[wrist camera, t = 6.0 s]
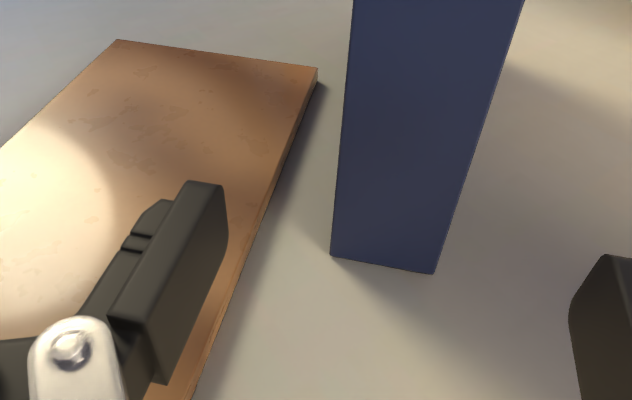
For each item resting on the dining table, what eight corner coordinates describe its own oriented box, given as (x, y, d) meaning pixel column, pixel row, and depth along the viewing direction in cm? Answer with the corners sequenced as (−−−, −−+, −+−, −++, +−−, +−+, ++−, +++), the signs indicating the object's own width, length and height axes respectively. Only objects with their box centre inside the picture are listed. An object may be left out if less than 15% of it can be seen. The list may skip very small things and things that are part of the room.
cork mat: (177, 435, 14) (173, 424, 14) (-185, 349, 16) (-202, 335, 15) (317, 79, 29) (318, 67, 28) (119, 51, 30) (116, 38, 29)
